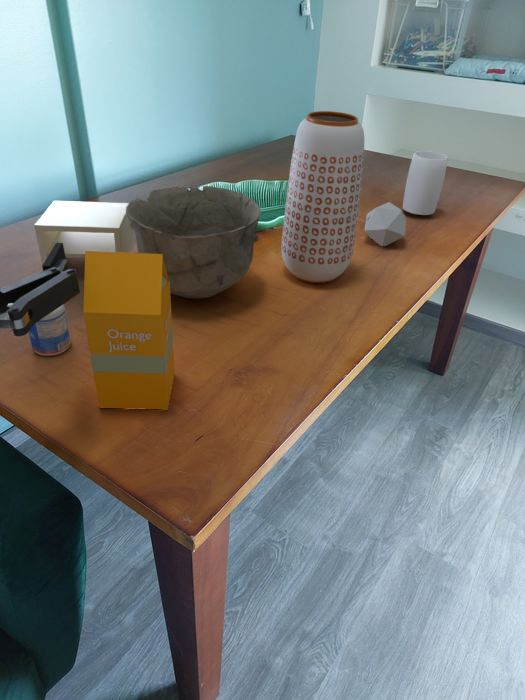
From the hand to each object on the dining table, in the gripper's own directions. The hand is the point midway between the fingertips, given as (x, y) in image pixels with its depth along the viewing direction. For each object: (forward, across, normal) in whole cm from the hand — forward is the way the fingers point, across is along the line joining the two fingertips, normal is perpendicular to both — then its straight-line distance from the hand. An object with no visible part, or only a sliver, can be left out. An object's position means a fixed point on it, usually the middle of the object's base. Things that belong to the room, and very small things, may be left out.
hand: (0, 255), depth 61 cm
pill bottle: (+9, 0, -18) cm, 20 cm away
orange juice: (-2, +14, -19) cm, 24 cm away
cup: (+65, +76, -19) cm, 101 cm away
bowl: (+27, +21, -18) cm, 39 cm away
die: (+48, +61, -19) cm, 80 cm away
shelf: (+36, +2, -17) cm, 40 cm away
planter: (+32, +44, -19) cm, 58 cm away
